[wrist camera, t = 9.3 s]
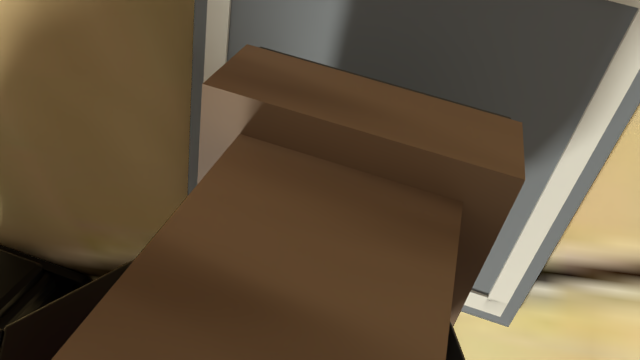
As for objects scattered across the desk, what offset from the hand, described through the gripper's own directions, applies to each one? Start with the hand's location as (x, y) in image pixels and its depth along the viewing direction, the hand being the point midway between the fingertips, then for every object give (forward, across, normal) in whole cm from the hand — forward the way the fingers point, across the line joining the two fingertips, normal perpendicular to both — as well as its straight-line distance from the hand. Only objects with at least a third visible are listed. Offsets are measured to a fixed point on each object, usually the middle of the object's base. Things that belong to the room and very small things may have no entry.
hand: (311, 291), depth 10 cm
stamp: (+4, 0, 0) cm, 4 cm away
